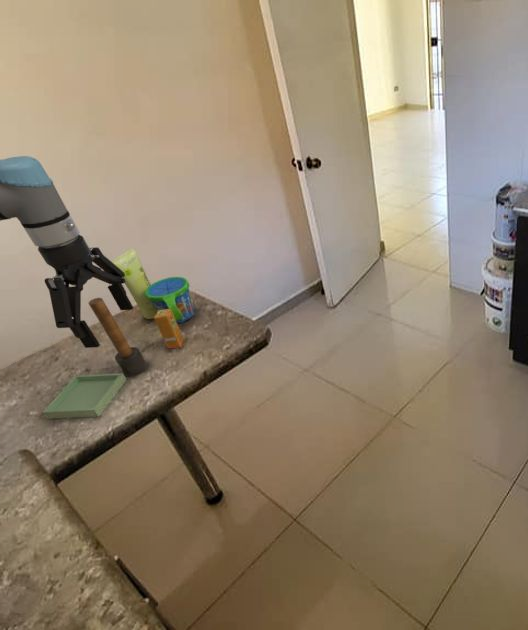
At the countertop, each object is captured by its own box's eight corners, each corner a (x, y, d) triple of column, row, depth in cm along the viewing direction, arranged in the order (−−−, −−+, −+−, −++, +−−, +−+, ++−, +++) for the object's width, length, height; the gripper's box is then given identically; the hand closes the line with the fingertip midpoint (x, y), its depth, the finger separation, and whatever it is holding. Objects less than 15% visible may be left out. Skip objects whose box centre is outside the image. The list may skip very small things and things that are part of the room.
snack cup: (161, 307, 126) (146, 277, 120) (200, 298, 129) (187, 268, 123) (158, 337, 114) (142, 306, 108) (201, 326, 117) (187, 295, 111)
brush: (120, 377, 103) (76, 308, 91) (131, 362, 107) (90, 295, 95) (141, 376, 102) (100, 307, 91) (151, 362, 106) (113, 293, 95)
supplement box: (182, 347, 111) (166, 315, 105) (168, 349, 110) (151, 317, 104) (185, 339, 113) (170, 308, 107) (171, 341, 113) (156, 309, 107)
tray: (47, 418, 93) (42, 412, 92) (80, 381, 102) (75, 375, 101) (99, 416, 93) (94, 409, 91) (126, 379, 102) (122, 373, 101)
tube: (163, 317, 122) (133, 256, 110) (143, 323, 120) (110, 261, 109) (163, 307, 126) (134, 247, 115) (144, 312, 124) (112, 252, 113)
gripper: (32, 272, 74) (94, 363, 87) (113, 213, 94) (154, 295, 107) (-10, 274, 74) (57, 365, 87) (80, 215, 95) (124, 296, 107)
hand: (111, 326), depth 97 cm, fingers open, 13 cm apart
